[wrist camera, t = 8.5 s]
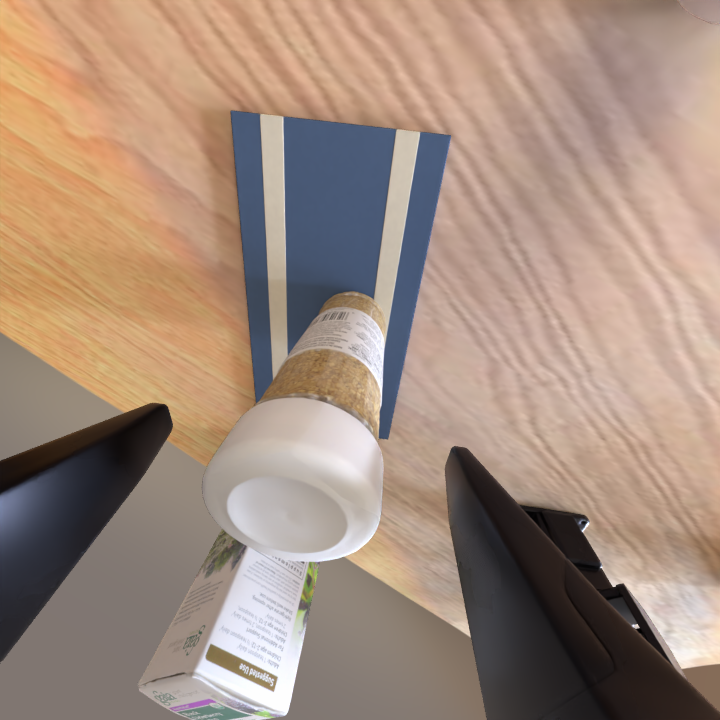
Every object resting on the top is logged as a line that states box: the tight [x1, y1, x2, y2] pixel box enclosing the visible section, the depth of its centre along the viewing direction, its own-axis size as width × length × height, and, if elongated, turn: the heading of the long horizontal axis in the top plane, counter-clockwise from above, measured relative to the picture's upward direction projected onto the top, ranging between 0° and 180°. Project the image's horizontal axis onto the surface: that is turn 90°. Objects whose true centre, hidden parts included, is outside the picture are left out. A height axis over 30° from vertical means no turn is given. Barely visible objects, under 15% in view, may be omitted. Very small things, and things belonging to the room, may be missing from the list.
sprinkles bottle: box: [202, 291, 386, 562], centre depth 13 cm, size 5×5×13 cm
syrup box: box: [138, 529, 320, 720], centre depth 20 cm, size 6×6×14 cm
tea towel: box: [231, 111, 451, 439], centre depth 19 cm, size 20×11×1 cm, turn 174°
